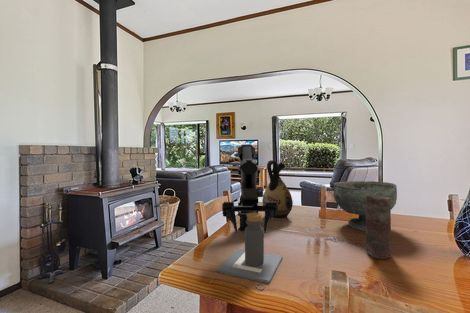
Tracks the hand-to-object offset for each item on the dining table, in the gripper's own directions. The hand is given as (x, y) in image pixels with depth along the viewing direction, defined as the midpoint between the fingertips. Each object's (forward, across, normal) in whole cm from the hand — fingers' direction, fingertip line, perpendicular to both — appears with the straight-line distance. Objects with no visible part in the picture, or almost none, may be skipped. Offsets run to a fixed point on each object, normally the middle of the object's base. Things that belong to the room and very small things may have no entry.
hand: (250, 232), depth 78 cm
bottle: (+8, +1, +4) cm, 9 cm away
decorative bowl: (-17, +53, +30) cm, 64 cm away
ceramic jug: (-26, +16, +40) cm, 51 cm away
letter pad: (+8, 0, +5) cm, 10 cm away
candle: (+4, +43, +10) cm, 44 cm away
